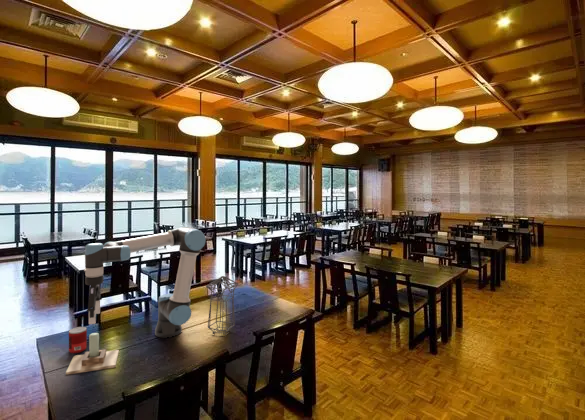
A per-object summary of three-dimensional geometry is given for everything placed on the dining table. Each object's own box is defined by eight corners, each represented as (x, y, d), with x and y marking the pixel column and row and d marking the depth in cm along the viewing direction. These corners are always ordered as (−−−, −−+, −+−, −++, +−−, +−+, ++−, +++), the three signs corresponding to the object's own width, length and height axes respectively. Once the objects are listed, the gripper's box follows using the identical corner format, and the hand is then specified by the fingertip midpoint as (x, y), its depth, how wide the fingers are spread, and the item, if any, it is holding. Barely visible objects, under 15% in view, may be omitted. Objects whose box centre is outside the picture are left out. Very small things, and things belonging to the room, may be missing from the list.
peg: (99, 359, 164) (99, 332, 164) (98, 363, 161) (98, 335, 160) (90, 361, 163) (90, 333, 162) (88, 365, 159) (88, 336, 158)
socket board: (118, 351, 173) (118, 344, 173) (115, 367, 158) (115, 359, 158) (73, 358, 165) (73, 350, 165) (65, 374, 151) (65, 366, 150)
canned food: (90, 347, 176) (90, 327, 176) (76, 354, 169) (76, 333, 168) (78, 345, 178) (78, 325, 178) (65, 352, 171) (65, 331, 170)
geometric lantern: (203, 336, 195) (204, 277, 194) (216, 327, 210) (218, 272, 209) (227, 340, 190) (228, 280, 189) (239, 330, 205) (240, 274, 204)
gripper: (90, 270, 170) (90, 310, 171) (79, 282, 147) (80, 329, 148) (106, 269, 172) (106, 308, 174) (99, 281, 149) (99, 327, 151)
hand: (94, 318), depth 161 cm, fingers open, 13 cm apart
